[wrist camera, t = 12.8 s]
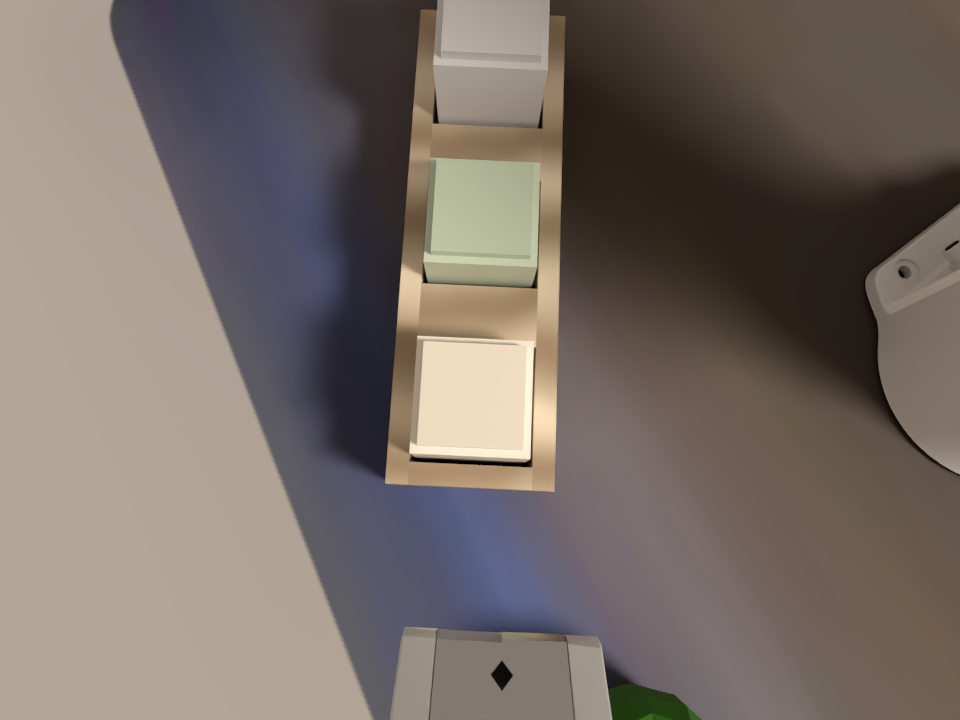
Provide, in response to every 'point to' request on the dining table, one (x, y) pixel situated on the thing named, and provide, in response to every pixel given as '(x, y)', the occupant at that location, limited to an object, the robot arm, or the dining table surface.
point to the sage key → (482, 223)
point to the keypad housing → (480, 306)
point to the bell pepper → (646, 704)
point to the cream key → (472, 400)
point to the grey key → (491, 61)
